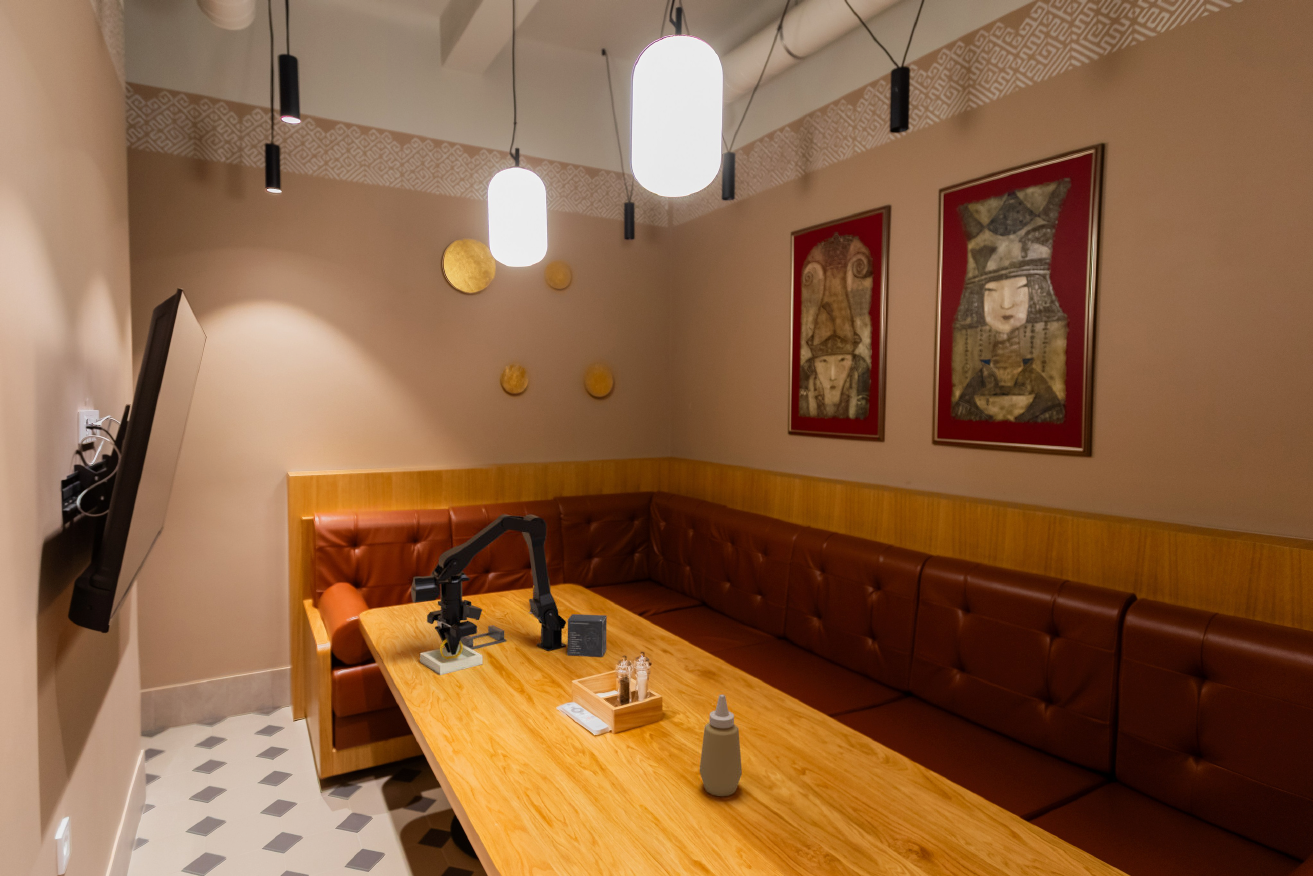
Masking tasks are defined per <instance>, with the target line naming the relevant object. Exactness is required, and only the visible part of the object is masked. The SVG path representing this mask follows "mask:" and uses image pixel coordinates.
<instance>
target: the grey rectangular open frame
mask: <svg viewBox="0 0 1313 876" xmlns="http://www.w3.org/2000/svg"><path fill="white" fill-rule="evenodd" d="M487 628H488V629H487V630H488V631H487V632H484V633H479V634H473V635H469V636H464V637H461V640H460V641H461V643H462V644H463V645H465V646H467V647H468V648H470V649H472V650H475V649H480V648H484V647H489V646H493V645H497V644H501V643H505V642H507V639H506V638H505V630H504V629H503V628H500V627H497V626H495V625H493V624H492V625H488V626H487ZM486 636H488V637H490V638H492V639H494V641H491V642H485V643H481V644H477V645H474V639H477V638H481V637H486ZM459 644H460V643H459Z"/></svg>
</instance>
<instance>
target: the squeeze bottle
mask: <svg viewBox="0 0 1313 876" xmlns="http://www.w3.org/2000/svg"><path fill="white" fill-rule="evenodd" d="M726 697H727V696H726V695H725V694H719V695H718V699H717V704H716V708H715V710H712V711H711V712H710V713H709V722H708V723H707V724H706V725H705V726H704V730H703V736H702V737H703V739H702V746H701V754H700V763H699V773H700V777H701V780H702V783H703V787H704V790H705V792H707V793H709V794H710V795H713V796H716V797H728V796H731V795H733V794H735V792H736V791H737V788H738V786H739V783H740V780H741V777H742V774H743V771H742V770H743V769H742V755H741V745H740V744H741V742H740V731H739V730H740V729H739V727H738V726H737V725H736V724H735V715H734V713H733V712H731V711H730V710H729V708H728V707H729V706H728V702H727V698H726Z"/></svg>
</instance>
